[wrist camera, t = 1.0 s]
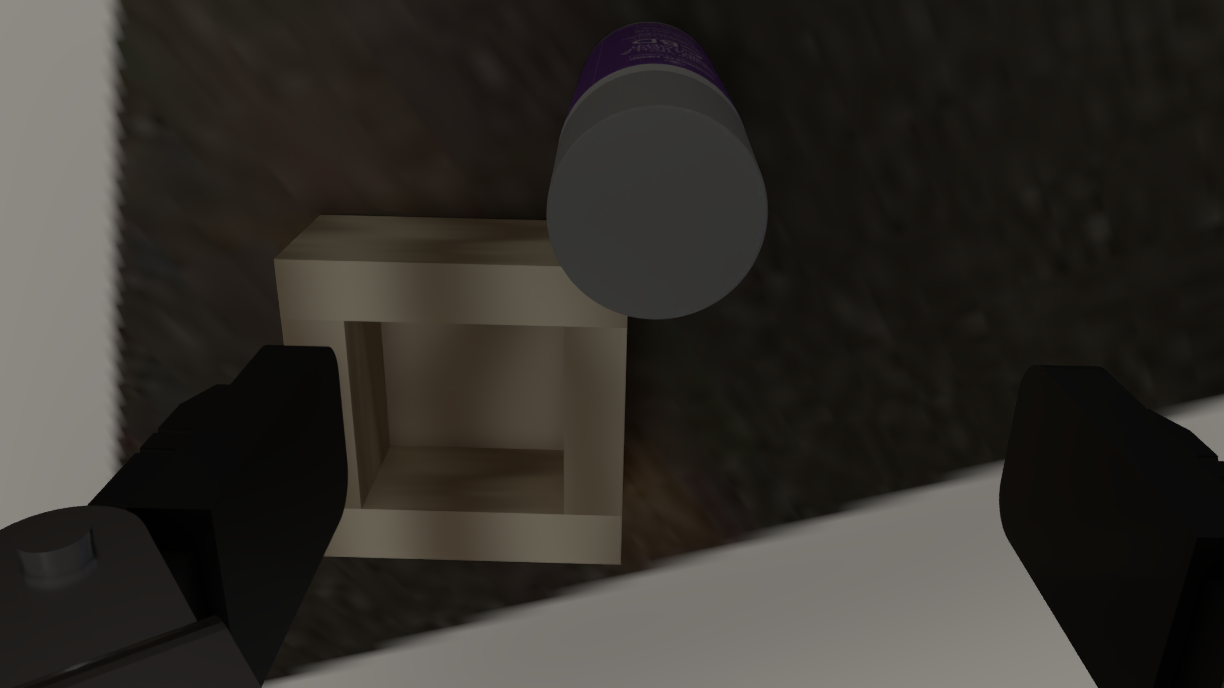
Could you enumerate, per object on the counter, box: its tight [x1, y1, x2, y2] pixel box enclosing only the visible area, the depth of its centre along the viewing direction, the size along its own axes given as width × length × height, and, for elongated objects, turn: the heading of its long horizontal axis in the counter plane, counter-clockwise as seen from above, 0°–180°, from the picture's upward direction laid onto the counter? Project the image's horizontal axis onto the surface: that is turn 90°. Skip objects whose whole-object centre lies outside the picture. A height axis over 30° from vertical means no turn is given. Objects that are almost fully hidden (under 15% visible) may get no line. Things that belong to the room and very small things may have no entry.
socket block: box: [274, 215, 627, 565], centre depth 35 cm, size 11×11×5 cm
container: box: [546, 22, 768, 319], centre depth 27 cm, size 5×5×15 cm
